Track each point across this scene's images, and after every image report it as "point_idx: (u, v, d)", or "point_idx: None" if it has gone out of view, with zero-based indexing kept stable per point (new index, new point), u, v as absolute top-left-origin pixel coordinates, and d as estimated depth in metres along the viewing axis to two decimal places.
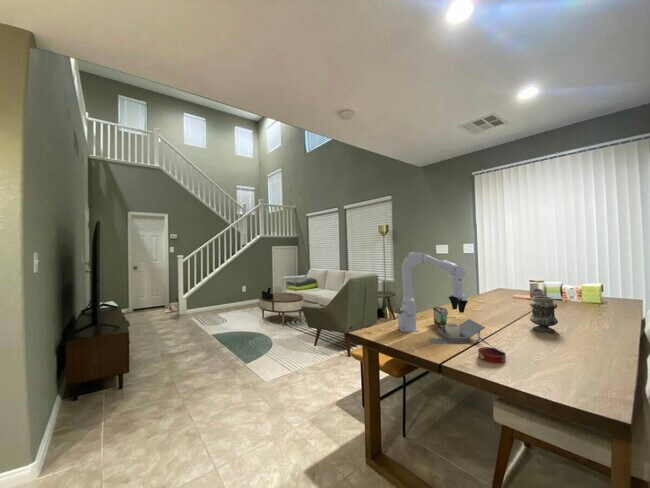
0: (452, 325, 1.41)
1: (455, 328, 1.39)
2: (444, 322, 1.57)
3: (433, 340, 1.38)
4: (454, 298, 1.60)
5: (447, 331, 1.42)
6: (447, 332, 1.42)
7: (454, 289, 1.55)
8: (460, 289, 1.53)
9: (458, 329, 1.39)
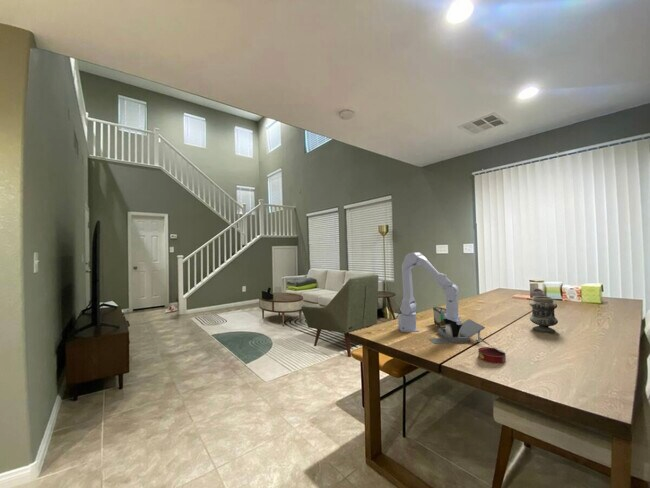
0: None
1: None
2: (444, 322, 1.57)
3: (433, 340, 1.38)
4: (449, 321, 1.44)
5: (447, 331, 1.42)
6: (447, 332, 1.42)
7: (448, 311, 1.40)
8: (455, 311, 1.38)
9: None
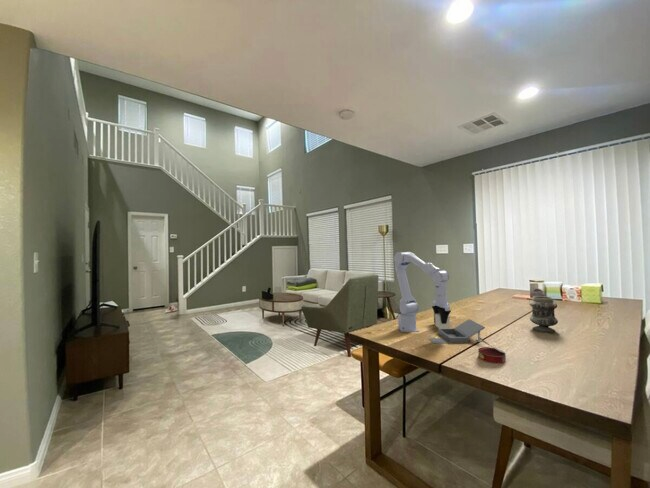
0: None
1: None
2: None
3: (433, 340, 1.38)
4: (438, 308, 1.41)
5: (437, 320, 1.38)
6: (437, 321, 1.38)
7: (437, 297, 1.37)
8: (443, 297, 1.35)
9: (448, 318, 1.36)
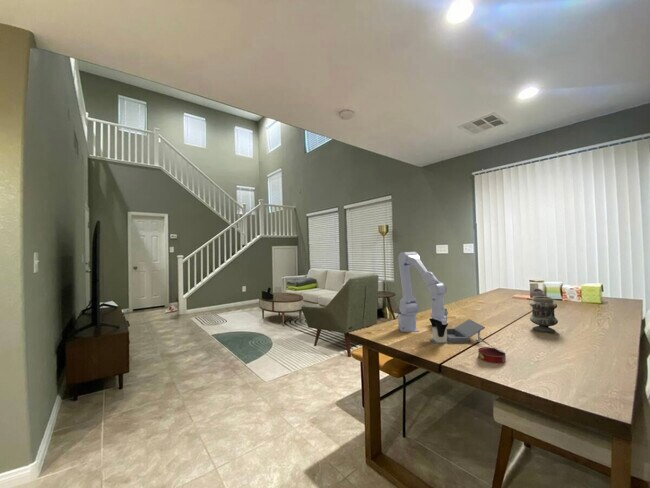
0: None
1: None
2: None
3: (433, 340, 1.38)
4: (435, 320, 1.40)
5: (434, 334, 1.37)
6: (434, 335, 1.37)
7: (434, 310, 1.36)
8: (440, 311, 1.34)
9: (445, 332, 1.35)
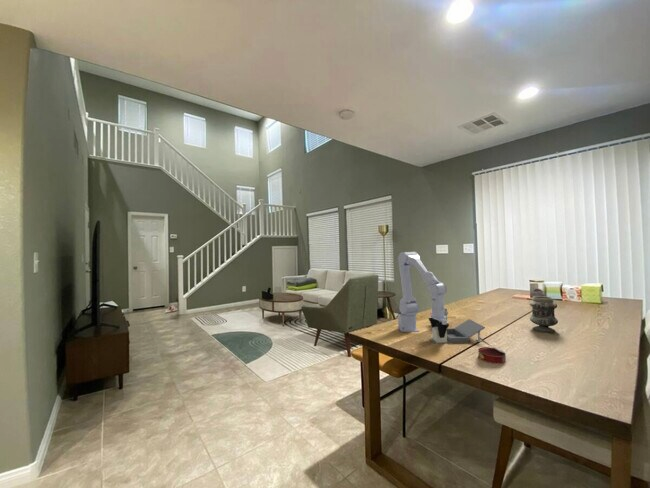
0: None
1: None
2: None
3: (433, 340, 1.38)
4: (435, 320, 1.41)
5: (434, 334, 1.37)
6: (434, 335, 1.38)
7: (434, 310, 1.36)
8: (440, 311, 1.34)
9: None
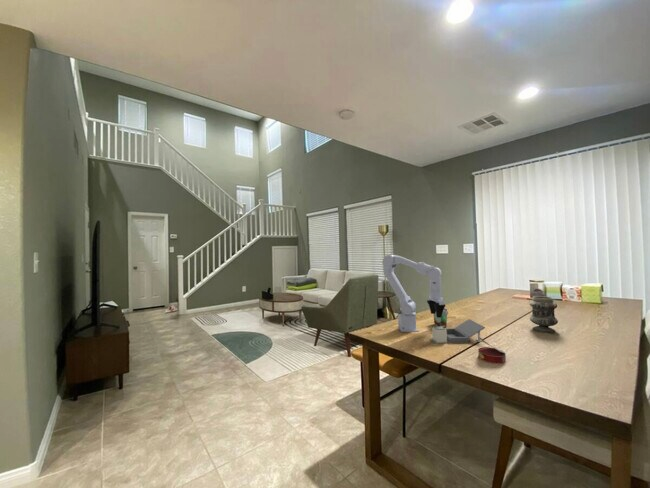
0: (439, 328, 1.37)
1: (442, 331, 1.35)
2: (444, 322, 1.57)
3: (433, 340, 1.38)
4: (432, 302, 1.52)
5: (434, 334, 1.37)
6: (434, 335, 1.38)
7: (432, 293, 1.47)
8: (438, 293, 1.45)
9: (445, 332, 1.35)
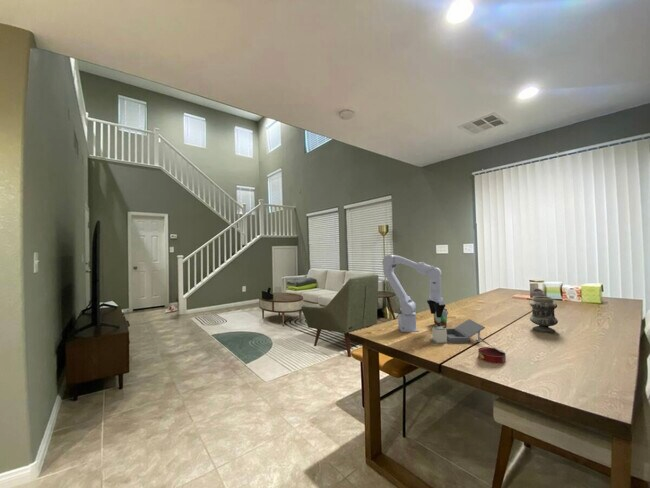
0: (439, 328, 1.37)
1: (442, 331, 1.35)
2: (444, 322, 1.57)
3: (433, 340, 1.38)
4: (432, 302, 1.52)
5: (434, 334, 1.37)
6: (434, 335, 1.38)
7: (432, 293, 1.47)
8: (438, 293, 1.45)
9: (445, 332, 1.35)
